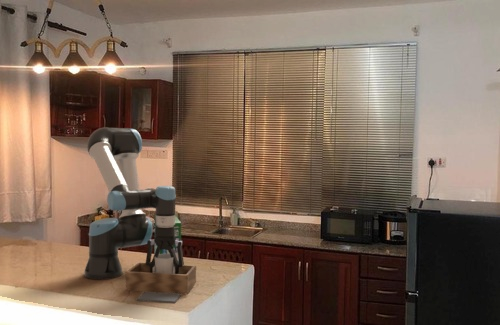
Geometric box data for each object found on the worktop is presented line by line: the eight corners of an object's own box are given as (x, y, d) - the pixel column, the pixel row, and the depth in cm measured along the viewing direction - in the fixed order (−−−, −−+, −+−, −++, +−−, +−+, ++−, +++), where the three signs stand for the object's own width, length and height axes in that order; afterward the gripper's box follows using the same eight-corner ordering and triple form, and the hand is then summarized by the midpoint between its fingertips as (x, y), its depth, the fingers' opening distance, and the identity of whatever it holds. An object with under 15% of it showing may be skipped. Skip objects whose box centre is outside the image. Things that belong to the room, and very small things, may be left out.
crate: (125, 290, 168) (125, 272, 168) (138, 279, 182) (139, 262, 182) (187, 293, 166) (187, 275, 166) (195, 282, 180) (196, 265, 179)
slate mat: (136, 300, 158) (136, 299, 158) (144, 293, 166) (144, 291, 165) (174, 302, 156) (174, 301, 156) (180, 295, 164) (180, 293, 164)
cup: (155, 283, 178) (155, 253, 177) (175, 283, 178) (175, 253, 178) (152, 289, 170) (153, 258, 169) (173, 289, 170) (174, 258, 170)
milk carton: (159, 277, 185) (160, 218, 184) (154, 272, 193) (154, 215, 192) (180, 275, 189) (181, 217, 188) (174, 269, 197) (174, 214, 196)
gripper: (136, 226, 170) (136, 285, 171) (188, 228, 168) (187, 288, 169) (143, 223, 178) (142, 279, 179) (192, 225, 176) (192, 282, 177)
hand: (164, 283), depth 174 cm, fingers closed on cup, 7 cm apart
